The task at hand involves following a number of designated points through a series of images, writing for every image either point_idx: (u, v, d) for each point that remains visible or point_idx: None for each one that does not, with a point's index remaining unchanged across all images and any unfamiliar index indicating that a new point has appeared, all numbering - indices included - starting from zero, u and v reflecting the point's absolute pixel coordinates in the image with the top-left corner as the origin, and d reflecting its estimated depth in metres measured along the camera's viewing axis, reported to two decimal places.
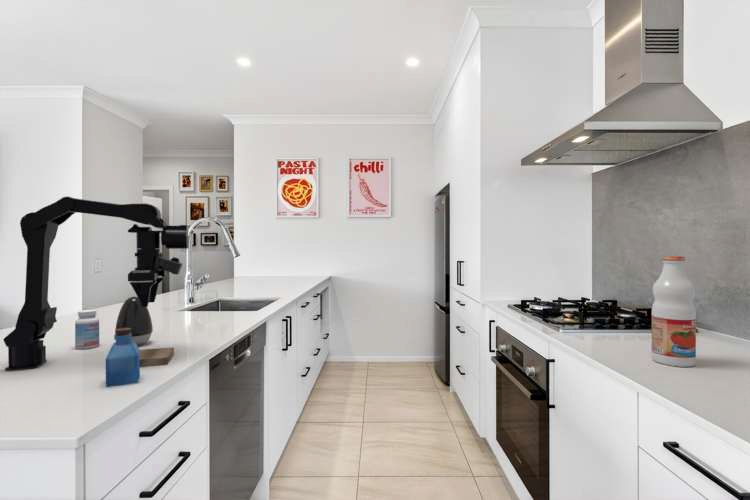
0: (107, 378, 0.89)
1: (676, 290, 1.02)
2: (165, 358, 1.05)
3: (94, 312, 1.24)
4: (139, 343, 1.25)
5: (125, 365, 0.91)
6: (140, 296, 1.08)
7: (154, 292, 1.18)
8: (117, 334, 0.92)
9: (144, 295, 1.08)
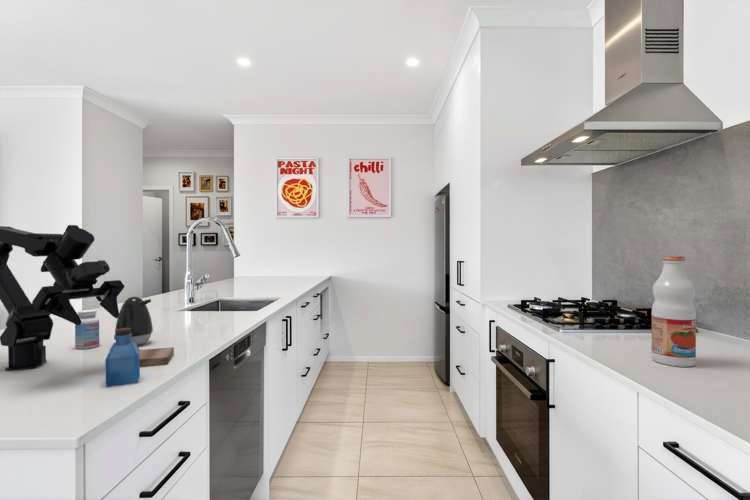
0: (107, 378, 0.89)
1: (676, 290, 1.02)
2: (165, 358, 1.05)
3: (94, 312, 1.24)
4: (139, 343, 1.25)
5: (125, 365, 0.91)
6: (66, 317, 0.91)
7: (112, 307, 1.00)
8: (117, 334, 0.92)
9: (67, 314, 0.91)
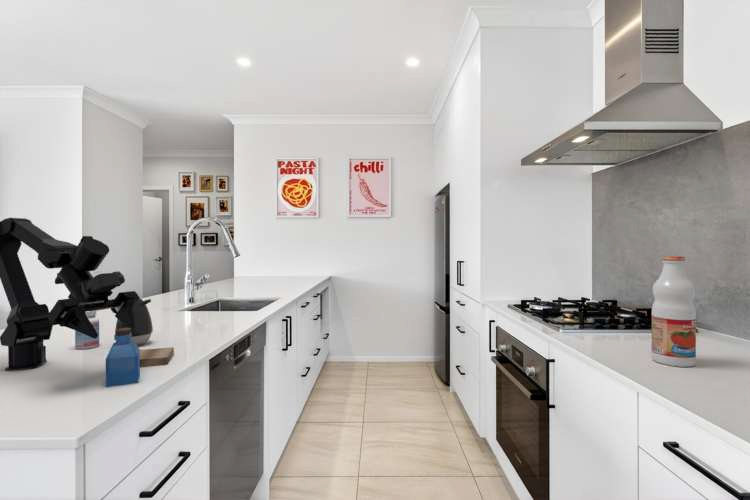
0: (107, 378, 0.89)
1: (676, 290, 1.02)
2: (165, 358, 1.05)
3: (94, 312, 1.24)
4: (139, 343, 1.25)
5: (125, 365, 0.91)
6: (82, 330, 0.89)
7: (128, 318, 0.99)
8: (117, 334, 0.92)
9: (84, 327, 0.89)
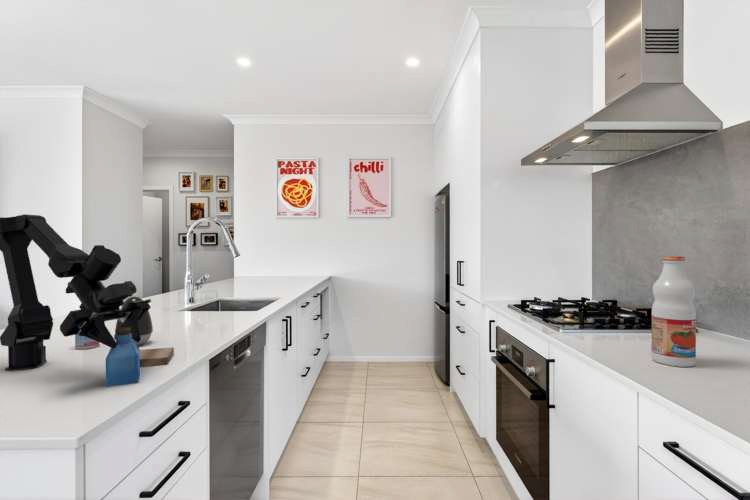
0: (107, 378, 0.89)
1: (676, 290, 1.02)
2: (165, 358, 1.05)
3: None
4: (139, 343, 1.25)
5: (125, 365, 0.91)
6: (101, 340, 0.90)
7: (134, 330, 0.96)
8: (117, 334, 0.92)
9: (103, 337, 0.89)
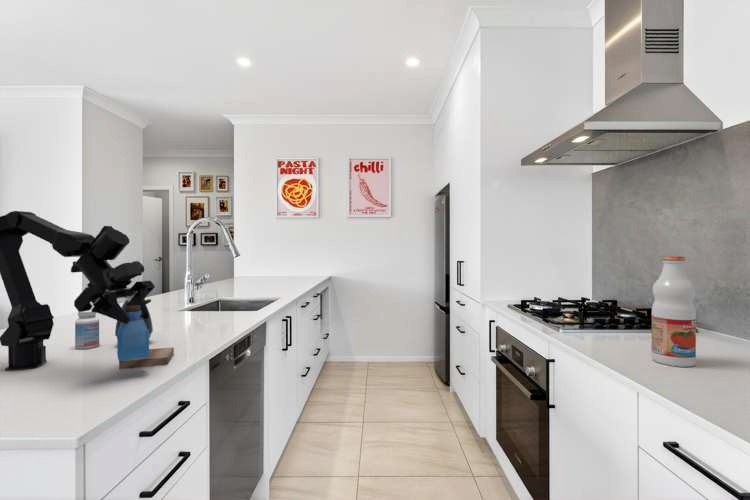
0: (120, 352, 0.93)
1: (676, 290, 1.02)
2: (165, 358, 1.05)
3: (94, 312, 1.24)
4: None
5: (137, 340, 0.95)
6: (114, 316, 0.94)
7: (142, 308, 1.00)
8: (128, 310, 0.96)
9: (116, 313, 0.94)
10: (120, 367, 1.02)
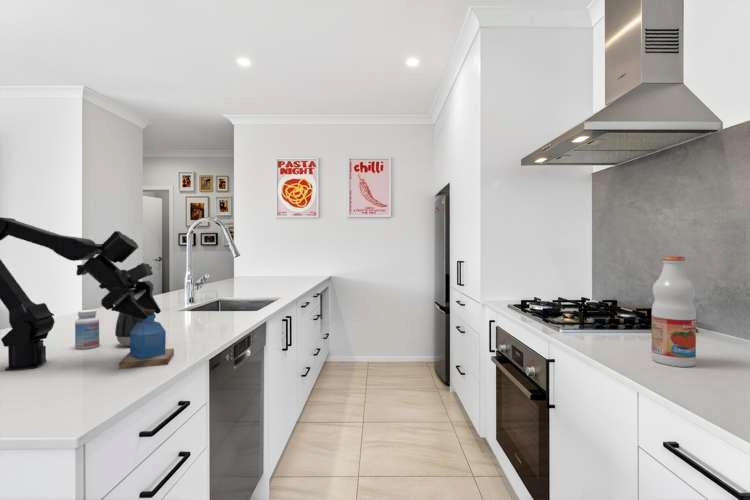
0: (143, 351, 1.05)
1: (676, 290, 1.02)
2: (165, 359, 1.05)
3: (94, 312, 1.24)
4: None
5: (156, 340, 1.08)
6: (133, 313, 1.03)
7: (153, 304, 1.13)
8: (146, 314, 1.07)
9: (135, 310, 1.03)
10: (120, 368, 1.02)
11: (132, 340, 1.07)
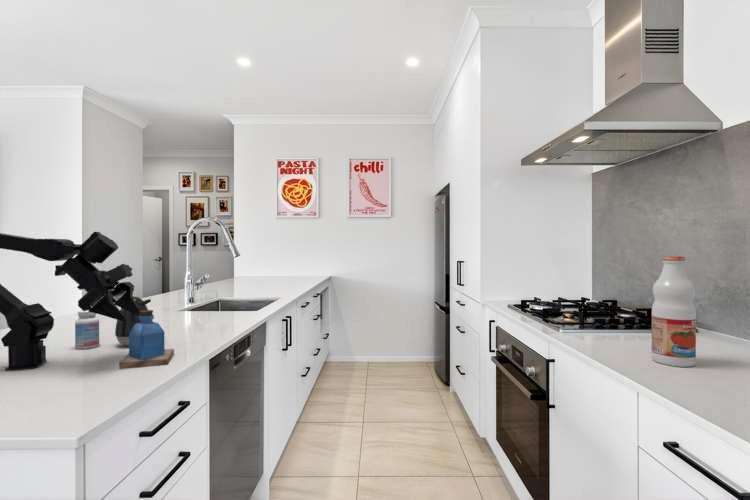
0: (142, 352, 1.05)
1: (676, 290, 1.02)
2: (165, 360, 1.05)
3: None
4: None
5: (155, 340, 1.07)
6: (110, 315, 1.02)
7: (133, 305, 1.13)
8: (144, 315, 1.07)
9: (113, 311, 1.02)
10: None
11: (131, 341, 1.07)
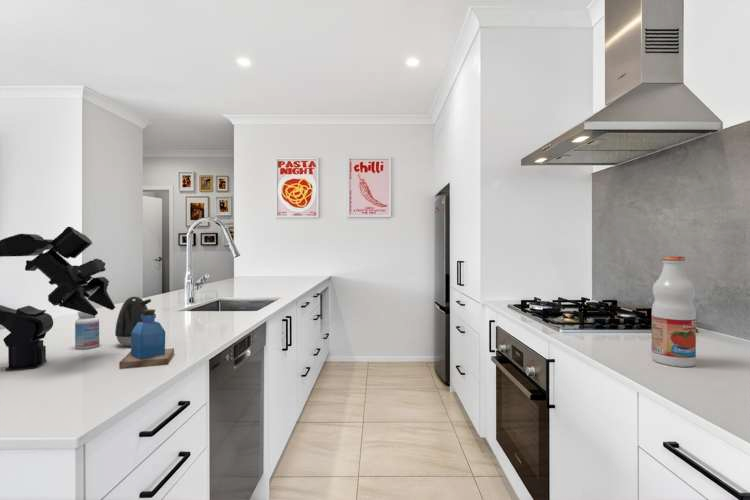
0: (141, 351, 1.05)
1: (676, 290, 1.02)
2: (165, 359, 1.05)
3: None
4: None
5: (155, 340, 1.07)
6: (82, 309, 1.02)
7: (107, 300, 1.12)
8: (145, 314, 1.07)
9: (84, 306, 1.02)
10: (120, 368, 1.02)
11: (133, 340, 1.08)
